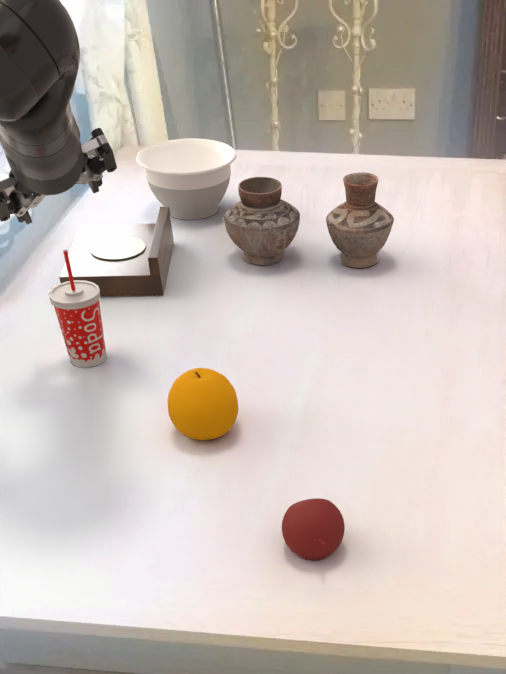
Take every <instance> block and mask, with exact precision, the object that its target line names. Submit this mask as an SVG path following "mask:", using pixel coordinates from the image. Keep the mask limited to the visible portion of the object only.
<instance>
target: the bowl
mask: <svg viewBox="0 0 506 674" xmlns="http://www.w3.org/2000/svg"><path fill="white" fill-rule="evenodd" d="M236 159H237V152H236V150H235V148H233V147H232V146H231V145H229V144H227V143H225V142H222V141H218V140H215V139H208V138H194V137H190V138H187V137H186V138H174V139H168V140H163V141H159V142H156V143H153V144H150V145H147V146H146V147H144V148H142V149H141V150H140V151H139V152H137V155H136V158H135V161H136V164H137V165H138V166H139V167H140V168H141V169H143V171H144V176H145V179H146V182H147V184H148V187H149V189H150V191H151V192H152V193H153V195H154V197H155V199H157V201H158V202H159V203H160V204H161V205H162V207H169V209H170V217H171V218H174V219H177V220H178V219H179V220H186V221H187V220H188V221H190V220H191V221H192V220H193V221H195V220H201V219H206V218H209V217H211V216H214V215H215V214H217V212H218V211H219V206H220V204H221V202H222V200H223V199H224V197H225V195H226V192H227V191H228V187H229V186H230V181H231V175H232V170H231V169H232V168H231V167H232V165H231V164H232V163H234V162H235V161H236Z"/></svg>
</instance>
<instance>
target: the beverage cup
mask: <svg viewBox="0 0 506 674" xmlns="http://www.w3.org/2000/svg"><path fill="white" fill-rule="evenodd" d="M62 253H63V256H64V263H65V262H66V266H67V271H68V276H69V280H70V281H67V282H63V283H60V282H59V283H58V284H56V285H54V286H53V287H51V288H50V289H49V290H48V293H47V294H48V299H49V302H50V305H52V306H53V308H54V312H55V315H56V318H57V323H58V324H59V328H60V331H61V335H62V338H63V341H64V345H65V348H66V352H67V354H68V358H69V361H70V363H71V365H73V366H75V367H78V368H93V367H97V366H99V365H100V364H102V363H104V362H105V361H106V360H107V358H108V357H107V349H106V343H105V333H104V328H103V327H104V326H103V319H102V311H101V304H100V303H101V302H100V298H101V296H100V289H99V286H98V285H96V284H95V283H93V282H89V281H84V280H73V275H72V271H71V266H70V261H69V257H68V253H69V251H68V249H63V250H62Z"/></svg>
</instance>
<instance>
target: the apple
mask: <svg viewBox="0 0 506 674" xmlns="http://www.w3.org/2000/svg"><path fill="white" fill-rule="evenodd" d="M168 391H169V392H168V395H167V413H168V417H169V419H170V421H171V423H172V424H173V426H174V427H175V429H176V430H177V431H178V432H179V434H182V435H183V436H185V437H186V438H189V439H191V440H192V439H193V440H195V441H209V440H214V439H218V438H220V437H222V436H223V435H225V434H227V433H228V432H229V431H230V430H231V429H232V428H233V427H234V425H235V423H236V420H237V417H238V414H239V401H238V396H237V391H236V389H235V387H234V385H233V384H232V383H231V382H230V380H229V379H228V378H227V377H226V376H225V375H224V374H222V373H220V372H219V371H217V370H215V369H211V368H207V367H196V368H191V369H189V370H186V371H184V372H182V373H181V375H179V376H178V377H176V378H175V380H174V381H173V383H172V385H171V387H170V389H169V390H168Z"/></svg>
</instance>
